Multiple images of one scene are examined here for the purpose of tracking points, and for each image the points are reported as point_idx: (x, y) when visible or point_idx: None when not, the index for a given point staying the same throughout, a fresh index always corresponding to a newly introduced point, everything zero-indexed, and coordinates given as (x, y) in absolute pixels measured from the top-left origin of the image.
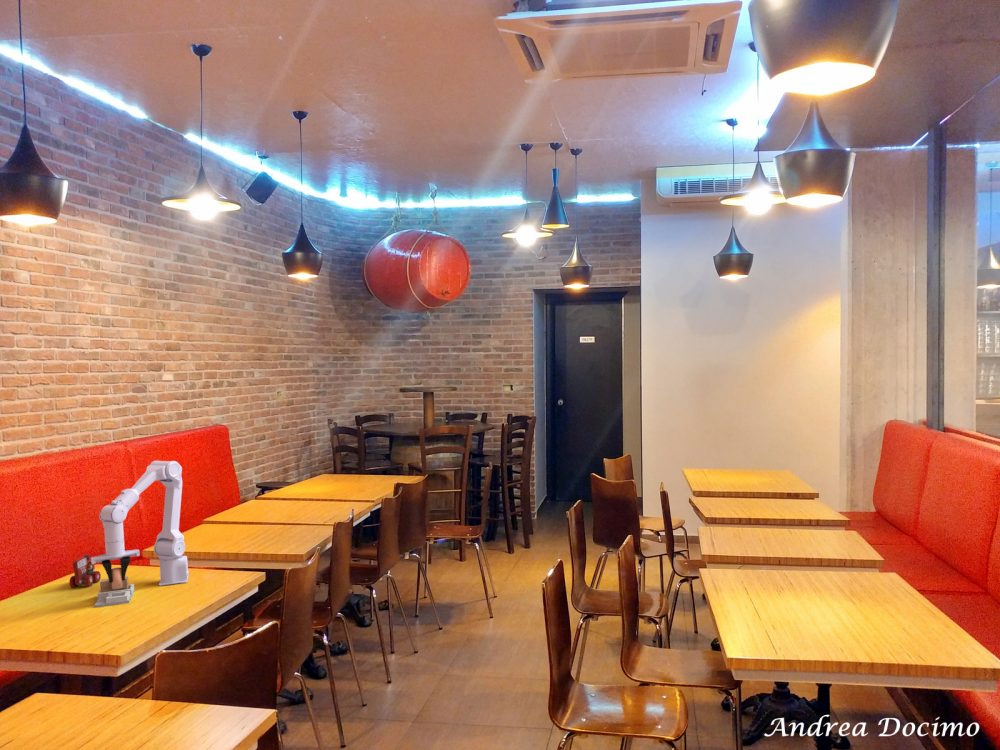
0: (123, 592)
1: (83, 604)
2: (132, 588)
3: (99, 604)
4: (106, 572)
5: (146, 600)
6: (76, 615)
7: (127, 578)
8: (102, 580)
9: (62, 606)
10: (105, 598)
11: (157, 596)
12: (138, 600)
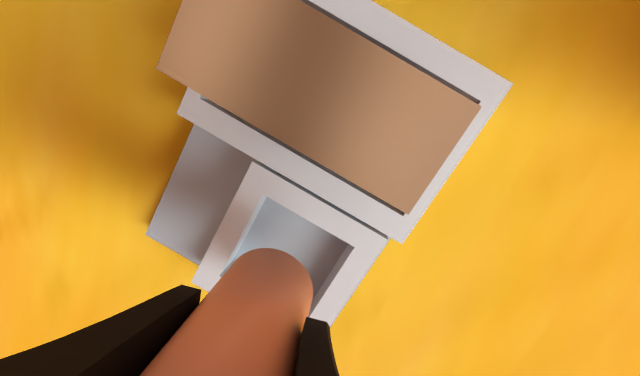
0: (338, 236)
1: (121, 94)
2: (442, 178)
3: (172, 249)
4: (62, 346)
5: (414, 370)
6: (53, 281)
7: (444, 154)
8: (195, 11)
9: (11, 9)
10: (239, 150)
11: (501, 358)
12: (385, 329)
